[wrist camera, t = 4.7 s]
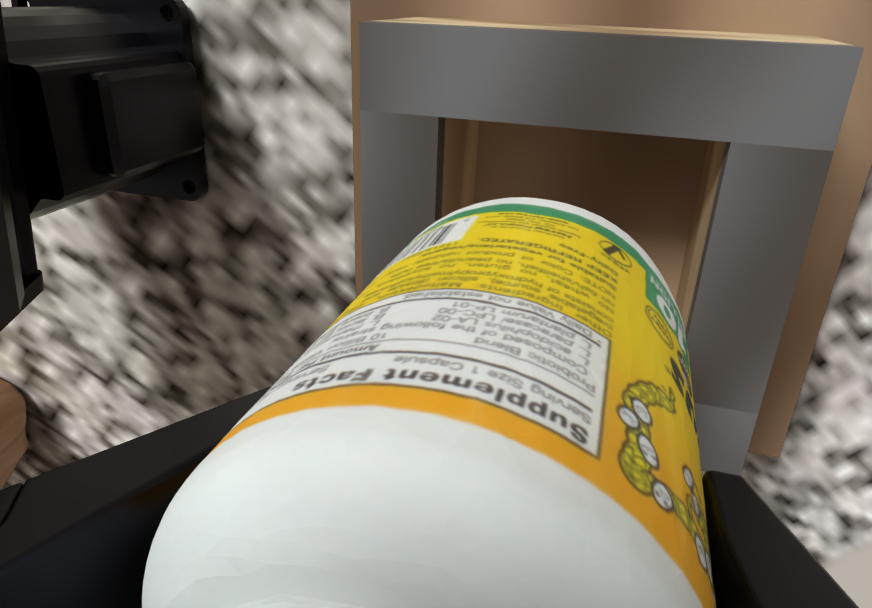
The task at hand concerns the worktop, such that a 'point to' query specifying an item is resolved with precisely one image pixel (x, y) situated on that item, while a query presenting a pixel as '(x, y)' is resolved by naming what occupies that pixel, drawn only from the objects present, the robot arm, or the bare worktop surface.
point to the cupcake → (11, 429)
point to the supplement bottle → (464, 439)
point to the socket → (638, 158)
